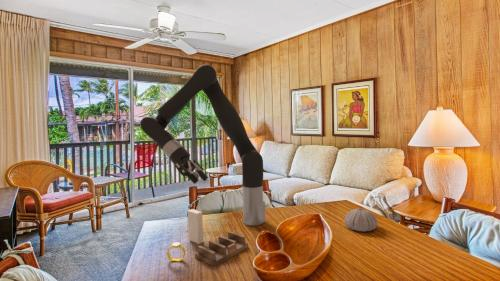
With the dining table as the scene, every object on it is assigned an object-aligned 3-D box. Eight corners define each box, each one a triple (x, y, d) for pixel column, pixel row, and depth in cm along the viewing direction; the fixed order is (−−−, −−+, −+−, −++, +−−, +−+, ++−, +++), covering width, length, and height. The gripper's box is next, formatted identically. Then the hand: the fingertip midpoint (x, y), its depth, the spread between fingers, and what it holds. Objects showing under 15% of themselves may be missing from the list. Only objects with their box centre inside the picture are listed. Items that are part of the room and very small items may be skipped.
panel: (188, 239, 110) (187, 210, 109) (193, 237, 112) (192, 208, 111) (198, 244, 106) (197, 213, 105) (203, 241, 108) (202, 211, 107)
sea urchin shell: (343, 231, 114) (343, 212, 114) (345, 220, 127) (345, 203, 126) (378, 236, 109) (378, 216, 109) (376, 223, 122) (376, 205, 121)
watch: (166, 263, 93) (165, 246, 92) (168, 258, 96) (168, 242, 95) (184, 262, 93) (183, 245, 92) (186, 258, 96) (185, 241, 95)
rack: (195, 257, 96) (194, 246, 96) (229, 239, 109) (228, 230, 109) (214, 266, 90) (214, 255, 89) (248, 247, 103) (248, 236, 102)
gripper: (172, 146, 107) (199, 176, 103) (190, 146, 120) (214, 172, 117) (160, 160, 108) (187, 190, 105) (179, 158, 122) (203, 184, 118)
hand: (201, 180), depth 111 cm, fingers open, 8 cm apart
